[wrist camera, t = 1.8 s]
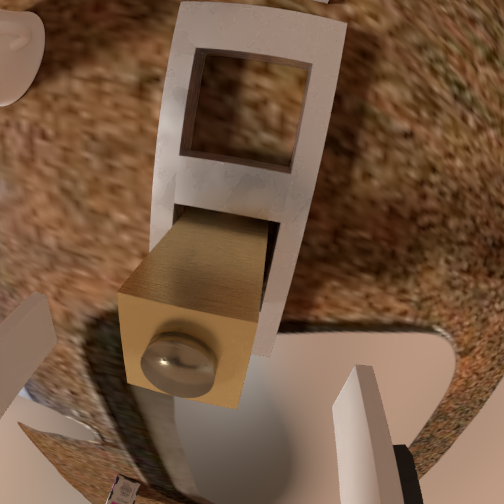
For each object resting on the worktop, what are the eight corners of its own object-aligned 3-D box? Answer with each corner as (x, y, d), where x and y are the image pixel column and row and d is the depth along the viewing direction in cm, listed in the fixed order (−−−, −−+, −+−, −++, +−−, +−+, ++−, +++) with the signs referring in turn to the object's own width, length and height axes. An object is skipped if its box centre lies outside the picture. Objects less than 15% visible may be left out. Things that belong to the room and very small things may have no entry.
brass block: (193, 202, 20) (107, 304, 10) (269, 216, 20) (256, 338, 9) (187, 269, 22) (121, 395, 12) (256, 282, 22) (234, 423, 12)
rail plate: (192, 13, 15) (181, 1, 13) (339, 34, 15) (347, 23, 13) (160, 312, 24) (149, 331, 22) (271, 335, 24) (269, 357, 22)
